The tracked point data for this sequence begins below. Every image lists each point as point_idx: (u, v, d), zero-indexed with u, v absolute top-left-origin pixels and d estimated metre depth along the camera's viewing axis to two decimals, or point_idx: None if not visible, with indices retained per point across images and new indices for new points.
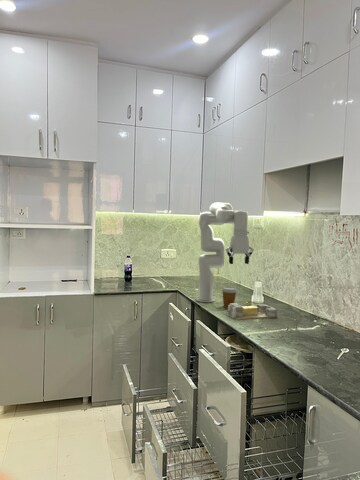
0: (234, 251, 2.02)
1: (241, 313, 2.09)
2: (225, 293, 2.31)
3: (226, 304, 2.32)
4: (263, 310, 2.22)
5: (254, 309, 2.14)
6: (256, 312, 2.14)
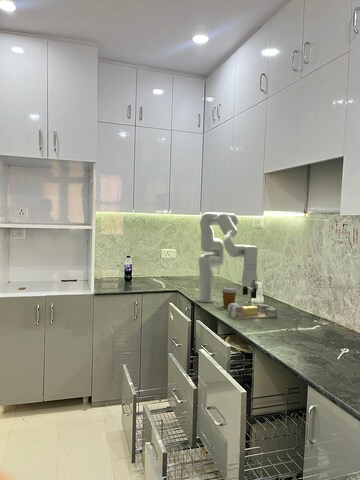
0: None
1: (241, 313, 2.09)
2: (225, 293, 2.31)
3: (226, 304, 2.32)
4: (263, 310, 2.22)
5: (254, 309, 2.14)
6: (256, 312, 2.14)
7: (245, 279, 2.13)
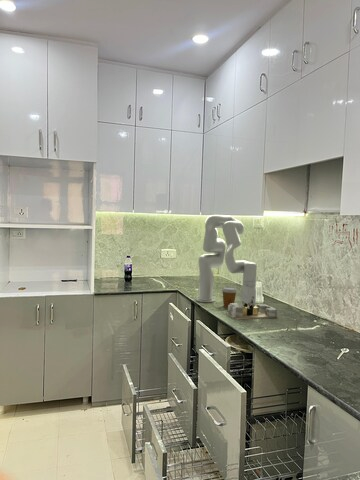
0: None
1: (241, 313, 2.09)
2: (225, 293, 2.31)
3: (226, 304, 2.32)
4: (263, 310, 2.22)
5: (254, 309, 2.14)
6: (256, 312, 2.14)
7: (244, 295, 2.14)
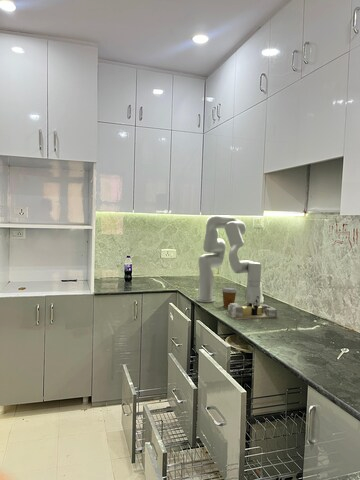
0: None
1: (241, 313, 2.09)
2: (225, 293, 2.31)
3: (226, 304, 2.32)
4: (263, 310, 2.22)
5: (259, 309, 2.15)
6: (260, 312, 2.15)
7: (248, 295, 2.15)
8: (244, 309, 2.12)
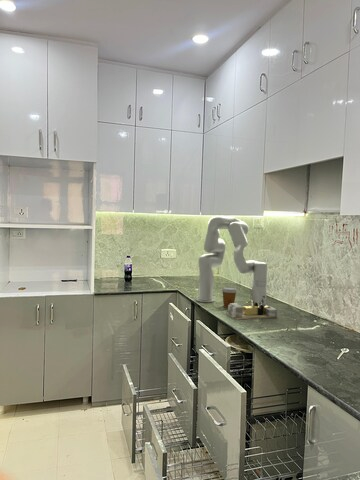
0: None
1: (241, 313, 2.09)
2: (225, 293, 2.31)
3: (226, 304, 2.32)
4: None
5: (264, 308, 2.16)
6: None
7: (254, 294, 2.16)
8: (250, 309, 2.13)
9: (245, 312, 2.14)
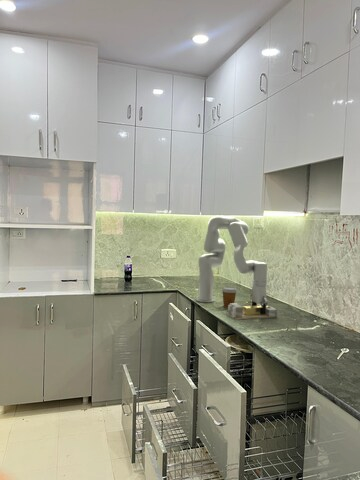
0: None
1: (241, 313, 2.09)
2: (225, 293, 2.31)
3: (226, 304, 2.32)
4: None
5: None
6: None
7: (254, 295, 2.16)
8: (250, 309, 2.13)
9: (245, 312, 2.14)
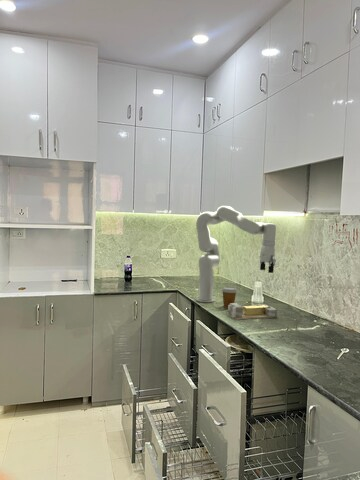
0: None
1: (241, 313, 2.09)
2: (225, 293, 2.31)
3: (226, 304, 2.32)
4: None
5: (264, 308, 2.16)
6: None
7: (263, 254, 2.24)
8: (250, 309, 2.13)
9: (245, 312, 2.14)
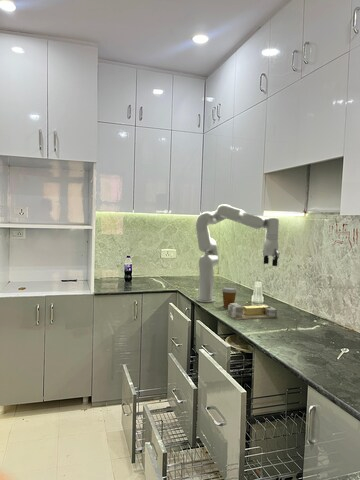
0: None
1: (241, 313, 2.09)
2: (225, 293, 2.31)
3: (226, 304, 2.32)
4: None
5: (264, 308, 2.16)
6: None
7: (267, 248, 2.28)
8: (250, 309, 2.13)
9: (245, 312, 2.14)
